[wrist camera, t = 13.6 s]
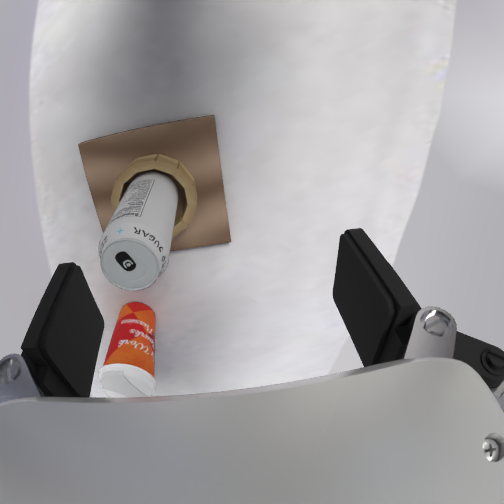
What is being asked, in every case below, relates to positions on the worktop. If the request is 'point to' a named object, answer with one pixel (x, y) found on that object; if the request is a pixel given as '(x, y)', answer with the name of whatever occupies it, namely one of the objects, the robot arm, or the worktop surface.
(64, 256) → the worktop surface
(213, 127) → the ring stand
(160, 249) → the energy drink can
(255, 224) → the worktop surface
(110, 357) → the paper cup
